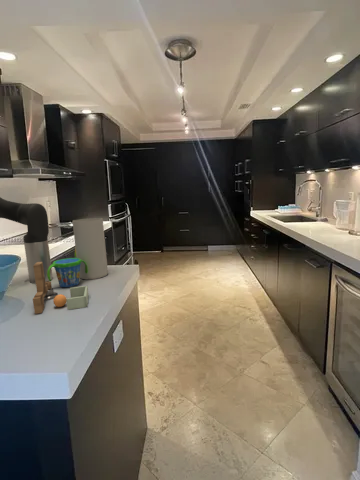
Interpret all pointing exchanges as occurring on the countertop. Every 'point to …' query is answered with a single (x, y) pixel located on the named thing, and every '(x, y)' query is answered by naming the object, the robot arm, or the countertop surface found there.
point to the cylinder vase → (91, 247)
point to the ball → (59, 300)
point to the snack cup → (67, 271)
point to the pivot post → (50, 294)
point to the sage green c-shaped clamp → (78, 297)
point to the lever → (40, 288)
